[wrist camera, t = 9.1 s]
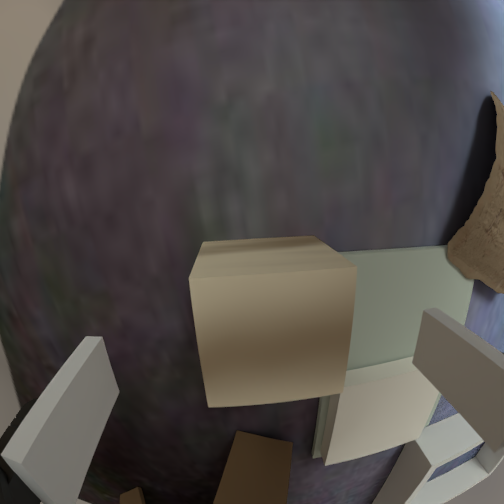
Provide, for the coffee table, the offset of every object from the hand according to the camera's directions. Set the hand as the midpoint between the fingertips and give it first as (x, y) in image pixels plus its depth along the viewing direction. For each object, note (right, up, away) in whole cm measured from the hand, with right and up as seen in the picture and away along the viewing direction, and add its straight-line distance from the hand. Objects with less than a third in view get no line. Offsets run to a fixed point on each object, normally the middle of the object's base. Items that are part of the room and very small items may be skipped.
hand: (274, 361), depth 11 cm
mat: (+10, -4, +8) cm, 14 cm away
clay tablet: (+19, +9, +6) cm, 21 cm away
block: (0, +2, +6) cm, 6 cm away
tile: (+9, -4, +6) cm, 12 cm away
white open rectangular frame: (+26, -22, +14) cm, 36 cm away
